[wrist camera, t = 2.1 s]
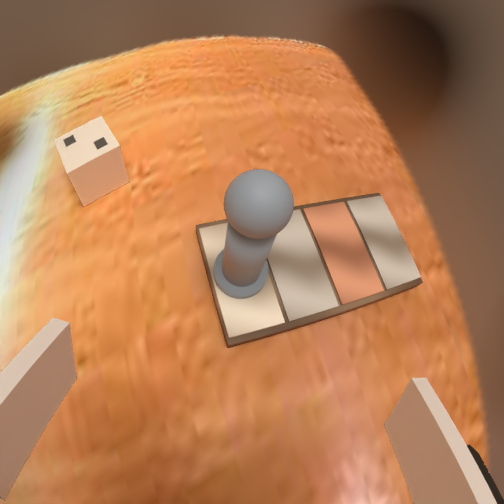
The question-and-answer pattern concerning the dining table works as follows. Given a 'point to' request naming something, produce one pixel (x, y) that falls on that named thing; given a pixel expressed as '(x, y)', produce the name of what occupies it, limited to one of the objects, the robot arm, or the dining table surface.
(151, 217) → the dining table surface
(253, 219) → the pawn
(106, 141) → the die
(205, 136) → the dining table surface
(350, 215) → the board
